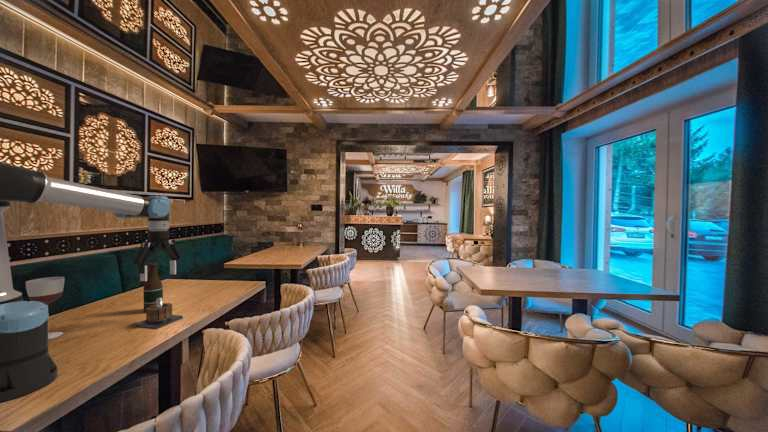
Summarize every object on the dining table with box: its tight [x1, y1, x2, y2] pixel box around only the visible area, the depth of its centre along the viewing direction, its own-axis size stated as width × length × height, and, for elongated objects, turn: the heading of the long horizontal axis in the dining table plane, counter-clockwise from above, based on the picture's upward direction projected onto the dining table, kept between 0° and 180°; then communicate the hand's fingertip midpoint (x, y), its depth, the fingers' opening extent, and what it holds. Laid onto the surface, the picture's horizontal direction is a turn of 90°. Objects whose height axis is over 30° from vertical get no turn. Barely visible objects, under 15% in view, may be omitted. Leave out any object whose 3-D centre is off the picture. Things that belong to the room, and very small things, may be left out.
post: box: [134, 297, 184, 330], centre depth 128 cm, size 12×12×11 cm
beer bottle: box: [143, 262, 164, 313], centre depth 143 cm, size 8×8×24 cm
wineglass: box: [25, 276, 66, 340], centre depth 113 cm, size 9×10×23 cm
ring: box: [145, 302, 173, 321], centre depth 128 cm, size 9×9×5 cm
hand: (159, 277), depth 127 cm, fingers open, 13 cm apart
